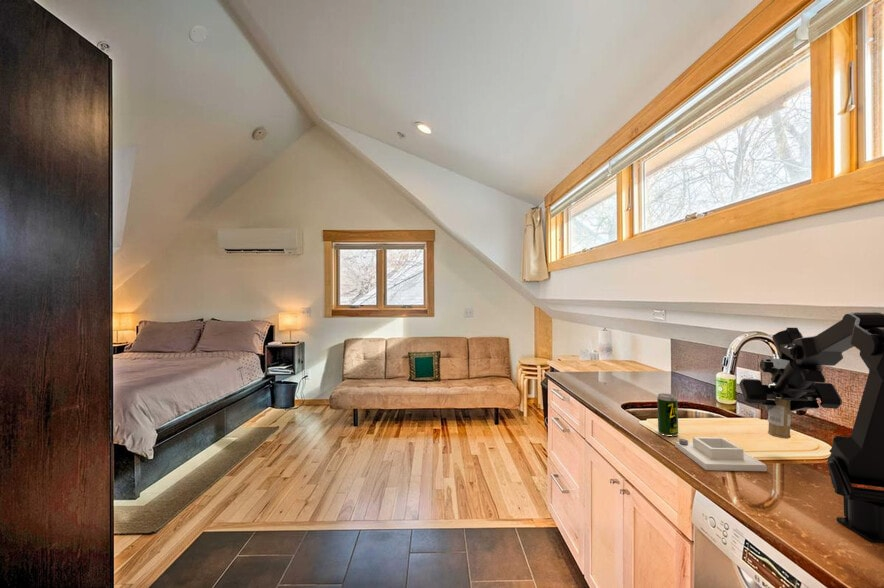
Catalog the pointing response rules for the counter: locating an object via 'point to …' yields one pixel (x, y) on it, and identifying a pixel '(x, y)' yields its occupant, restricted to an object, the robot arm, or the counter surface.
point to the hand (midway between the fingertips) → (776, 409)
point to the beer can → (667, 414)
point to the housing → (719, 454)
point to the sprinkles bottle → (780, 419)
